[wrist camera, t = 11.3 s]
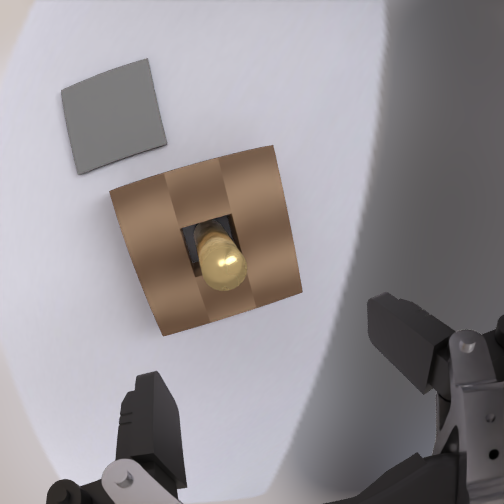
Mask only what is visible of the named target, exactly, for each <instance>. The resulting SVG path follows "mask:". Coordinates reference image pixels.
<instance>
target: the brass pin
mask: <svg viewBox="0 0 504 504" xmlns="http://www.w3.org/2000/svg"><path fill="white" fill-rule="evenodd" d="M194 240H195V244H196V249H197V253H198V258H199V262H200V266H201V270H202V275H203V278H204V280H205V282H206V283H207V284H208V285H209V286H210V287H211V288H213V289H216V290H219V291H228V290H231V289H234V288H236V287H237V286H239V285H240V284H241V283H242V282H243V280H244V279H245V277H246V274H247V263H246V260H245V258H244V256H243V255H242V254H241V252H240V251H239V249H238V248H237V247H236V245H235V244H234V242H233V241H232V240H231V238H230V237H229V235H228V234H227V232H226V231H225V230H224V228H223V227H222V225H221V224H220V223H219V222H217V221H215V220H207V221H204V222H200V223H199V224H198V225H197V226H196V228H195V230H194Z"/></svg>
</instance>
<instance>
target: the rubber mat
mask: <svg viewBox="0 0 504 504" xmlns="http://www.w3.org/2000/svg"><path fill="white" fill-rule="evenodd" d="M61 95H62V101H63V107H64V113H65V119H66V124H67V129H68V134H69V139H70V144H71V148H72V153H73V157H74V161H75V165H76V169H77V173H78V175H81V174H83V173H86V172H88V171H91V170H93V169H96V168H98V167H101V166H104V165H106V164H109V163H112V162H115V161H117V160H120V159H123V158H126V157H129V156H132V155H135V154H138V153H141V152H144V151H147V150H150V149H153V148H157V147H160V146H163V145H167V141H166V137H165V133H164V129H163V125H162V121H161V117H160V112H159V108H158V104H157V99H156V95H155V90H154V86H153V81H152V76H151V72H150V67H149V62H148V58H147V59H143V60H140V61H136V62H133V63H130V64H127V65H124V66H121V67H118V68H115V69H112V70H109V71H107V72H104V73H101V74H99V75H96V76H93V77H91V78H88V79H86V80H83V81H81V82H79V83H76V84H74V85H72V86H70V87H67V88H65V89H63V90H61Z"/></svg>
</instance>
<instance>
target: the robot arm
mask: <svg viewBox="0 0 504 504" xmlns="http://www.w3.org/2000/svg"><path fill="white" fill-rule="evenodd" d="M367 312H368V335H369V338H370V340H371V342H372V344H373V345H374V346H375V347H376V348H377V349H378V350H379V351H380V352H381V353H382V354H383V355H384V356H385V357H386V358H387V359H388V360H389V361H390V362H391V363H392V364H393V365H394V366H395V367H396V368H397V369H398V370H399V371H400V372H401V373H402V374H403V375H404V376H405V377H406V378H407V379H408V380H409V381H410V382H411V383H412V384H413V385H414V386H415V387H416V388H417V389H418V390H419V391H420V392H422V394H423V395H424V394H425V393H427V392H428V391H430V390H431V389H433V388H434V389H435V390H436V391H437V393H436V440H435V444H434V448H433V453H432V456H428V457H424V458H422V457H421V456H420V455H419V454H418V453H415V454H414V455H412V456H411V457H409V458H408V459H406V460H404V461H403V462H401V463H399V464H398V465H396V466H395V467H393V468H391V469H389V470H388V471H386V472H385V473H384V474H383V475H382V476H381V477H379V478H378V479H377V480H376V481H375V482H374V483H372V484H371V485H370V486H369V487H368V488H366V489H365V490H364V491H363V492H361V493H360V494H359V495H357V496H355V497H353V498H348V499H344V500H340V501H335V502H330V503H325V504H504V315H502V316H501V317H500V318H499V320H498V323H497V327H496V329H495V330H493V331H490V332H488V333H485V334H482V335H481V334H480V333H479V332H477V331H474V330H468V329H465V330H459V331H457V332H456V331H454V330H453V329H451V328H450V327H449V326H447V325H446V324H444V323H443V322H441V321H440V320H438V319H437V318H435V317H434V316H432V315H429V313H428V312H426V311H425V310H422V308H421V307H419V306H418V305H416V304H414V303H413V302H410V301H407V300H403V299H399V300H398V299H397V298H395V297H394V296H392V295H391V294H389V293H388V292H384V293H382V294H380V295H377V296H375V297H373V298H370V299H369V300H368V303H367ZM120 415H121V416H120V420H119V424H120V426H119V428H118V438H117V448H116V459H115V461H114V462H112V463H111V464H109V465H108V466H107V467H106V469H105V470H104V472H103V474H102V479H100V480H97V481H95V482H92V483H89V484H86V485H83V486H79V485H77V484H76V483H75V482H73V481H71V480H68V479H63V480H59V481H57V482H55V483H54V484H53V485H52V486H51V487H50V489H49V491H48V493H47V501H46V504H183V503H182V502H181V501H180V500H178V494H177V489H181V488H187V482H186V474H185V467H184V458H183V449H182V440H181V430H180V418H179V411H178V407H177V405H176V402H175V400H174V398H173V396H172V395H171V393H170V391H169V390H168V388H167V386H166V384H165V383H164V381H163V379H162V377H161V376H160V374H159V373H158V372H157V371H154V372H150V373H146V374H142V375H138V376H137V377H136V383H135V391H130V392H128V393H127V395H126V396H125V398H124V400H123V402H122V404H121V412H120Z"/></svg>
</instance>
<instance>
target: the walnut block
mask: <svg viewBox="0 0 504 504" xmlns="http://www.w3.org/2000/svg"><path fill="white" fill-rule="evenodd" d="M109 192H110V196H111V199H112V202H113V206H114V209H115V212H116V215H117V219H118V222H119V225H120V228H121V231H122V234H123V237H124V240H125V243H126V246H127V248H128V251H129V254H130V257H131V260H132V262H133V265H134V268H135V270H136V273H137V276H138V278H139V281H140V283H141V286H142V288H143V291H144V293H145V296H146V298H147V301H148V303H149V305H150V308H151V310H152V312H153V315H154V317H155V319H156V322H157V324H158V326H159V328H160V331H161V333H162V335H163V336H167V335H170V334H174V333H177V332H181V331H184V330H188V329H191V328H194V327H198V326H201V325H204V324H208V323H211V322H214V321H218V320H221V319H224V318H227V317H230V316H234V315H237V314H240V313H243V312H246V311H249V310H252V309H255V308H258V307H261V306H264V305H267V304H270V303H273V302H276V301H279V300H282V299H285V298H288V297H291V296H293V295H296V294H299V293H302V292H303V291H302V285H301V280H300V274H299V268H298V263H297V258H296V252H295V247H294V242H293V237H292V231H291V226H290V221H289V216H288V211H287V207H286V202H285V197H284V192H283V187H282V183H281V178H280V173H279V169H278V164H277V160H276V155H275V151H274V147H273V145H271V146H265V147H260V148H255V149H251V150H247V151H242V152H238V153H234V154H230V155H226V156H222V157H218V158H214V159H210V160H206V161H203V162H199V163H195V164H192V165H188V166H185V167H181V168H178V169H174V170H171V171H168V172H164V173H161V174H158V175H155V176H151V177H148V178H145V179H142V180H139V181H136V182H133V183H130V184H127V185H124V186H121V187H119V188H116V189H114V190H111V191H109ZM224 215H227V218H228V221H229V225H230V229H231V233H232V237H233V241H234V244H235V245H236V247H237V248H238V249H239V251H240V252H241V254H242V255H243V256H244V258H245V260H246V263H247V274H246V277H245V279H244V280H243V282H242V283H241V284H240V285H239V286H237V287H236V288H234V289H231V290H228V291H219V290H216V289H213V288H211V287H210V286H209V285H208V284H207V283H206V282H205V280H204V278H203V275H202V270H201V266H200V262H199V261H197V262H194V263H193V262H192V259H191V256H190V253H189V250H188V246H187V243H186V240H185V237H184V233H183V230H182V228H184V227H187V226H190V225H193V224H197V223H200V222H204V221H207V220H210V219H214V218H217V217H221V216H224Z"/></svg>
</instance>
